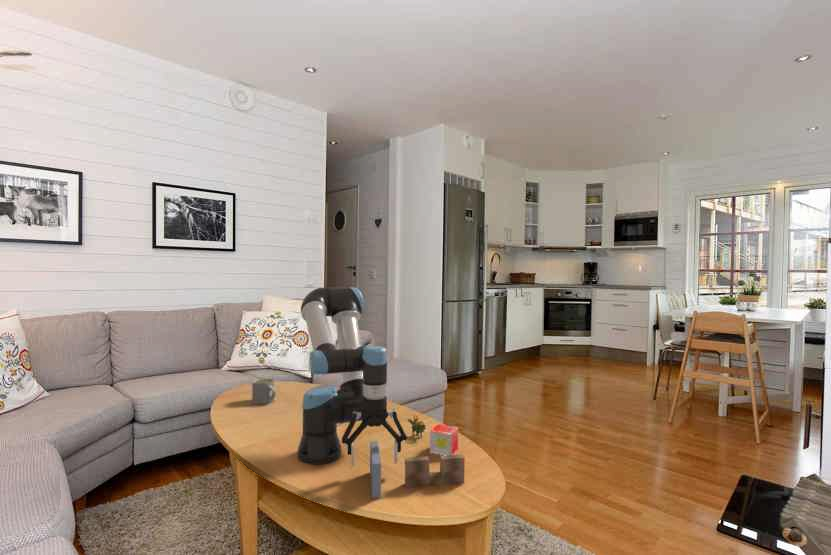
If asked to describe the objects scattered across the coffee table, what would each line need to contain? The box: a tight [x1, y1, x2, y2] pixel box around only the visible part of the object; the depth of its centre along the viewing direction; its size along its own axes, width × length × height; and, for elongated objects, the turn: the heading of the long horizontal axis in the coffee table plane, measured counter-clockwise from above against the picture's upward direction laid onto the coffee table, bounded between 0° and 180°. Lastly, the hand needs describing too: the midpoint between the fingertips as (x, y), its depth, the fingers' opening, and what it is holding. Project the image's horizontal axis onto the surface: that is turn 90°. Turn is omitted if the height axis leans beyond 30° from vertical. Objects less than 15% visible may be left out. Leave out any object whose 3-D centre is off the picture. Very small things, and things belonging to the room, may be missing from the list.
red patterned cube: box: [429, 423, 459, 456], centre depth 157 cm, size 8×8×8 cm
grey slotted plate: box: [369, 440, 382, 499], centre depth 133 cm, size 2×16×10 cm, turn 9°
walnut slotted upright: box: [404, 454, 466, 489], centre depth 134 cm, size 18×2×8 cm, turn 99°
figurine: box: [406, 414, 427, 440], centre depth 171 cm, size 3×12×8 cm, turn 37°
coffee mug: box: [251, 378, 277, 405], centre depth 211 cm, size 13×10×10 cm
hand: (374, 463), depth 138 cm, fingers open, 13 cm apart
